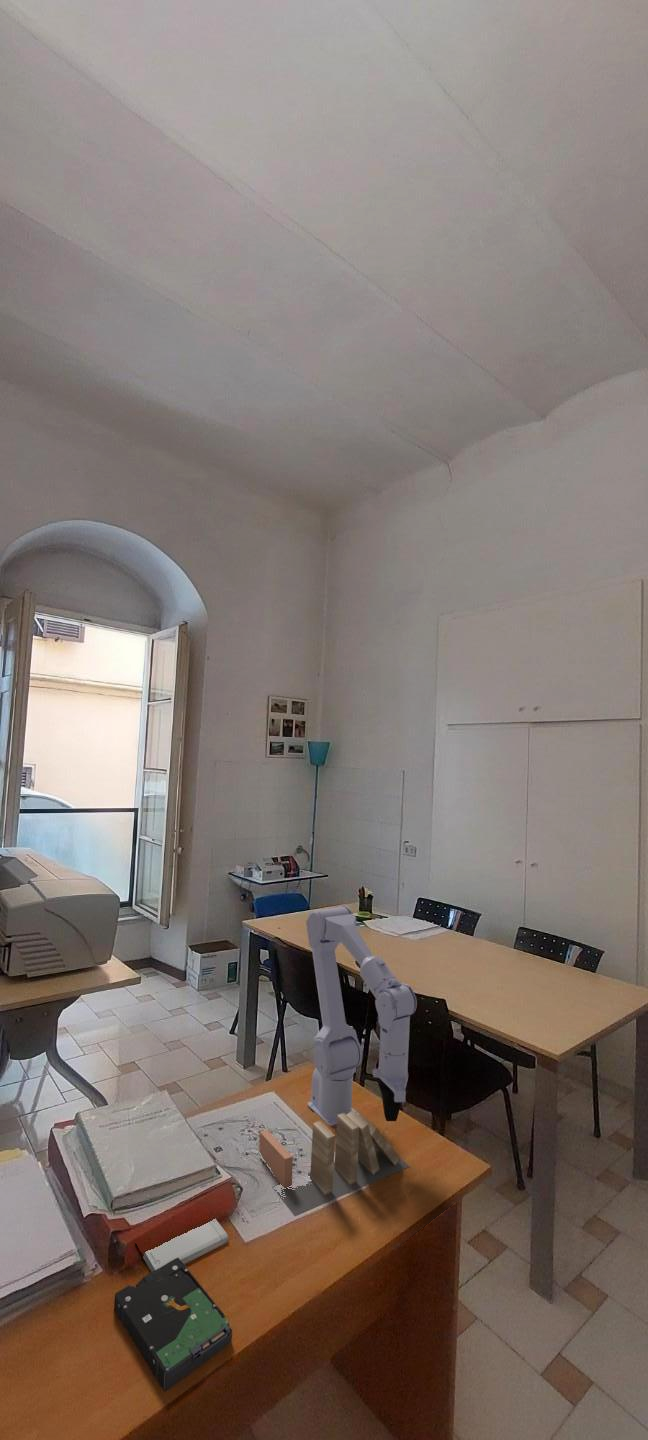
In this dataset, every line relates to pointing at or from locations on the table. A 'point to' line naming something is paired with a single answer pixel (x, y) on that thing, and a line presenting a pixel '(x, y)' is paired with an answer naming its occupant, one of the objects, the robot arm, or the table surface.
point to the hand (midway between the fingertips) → (390, 1119)
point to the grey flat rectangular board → (337, 1185)
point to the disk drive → (172, 1322)
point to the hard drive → (187, 1245)
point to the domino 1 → (276, 1158)
